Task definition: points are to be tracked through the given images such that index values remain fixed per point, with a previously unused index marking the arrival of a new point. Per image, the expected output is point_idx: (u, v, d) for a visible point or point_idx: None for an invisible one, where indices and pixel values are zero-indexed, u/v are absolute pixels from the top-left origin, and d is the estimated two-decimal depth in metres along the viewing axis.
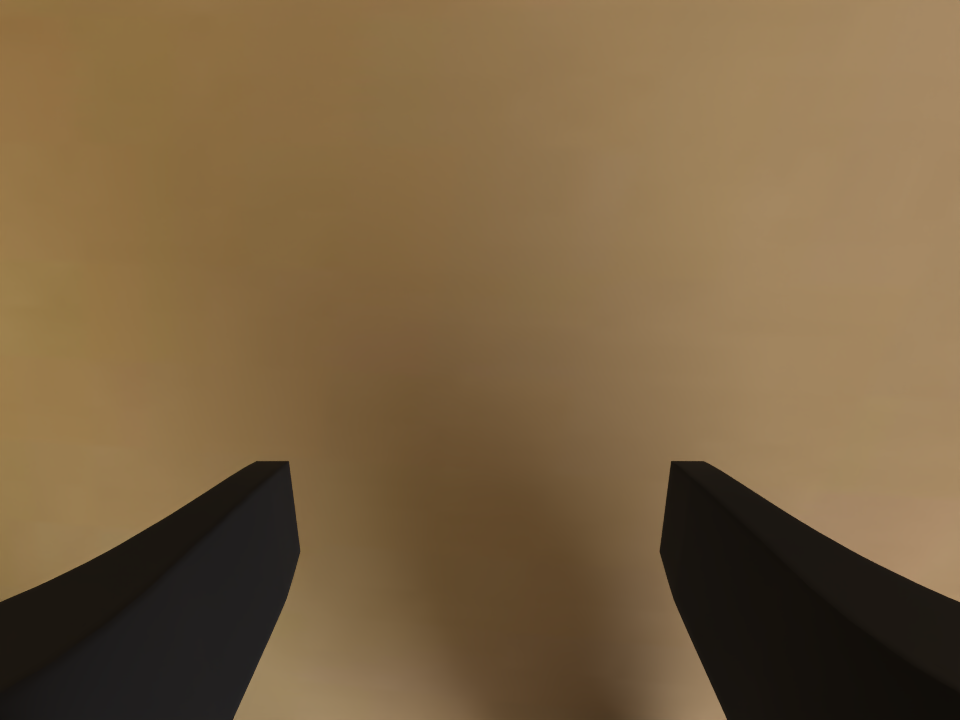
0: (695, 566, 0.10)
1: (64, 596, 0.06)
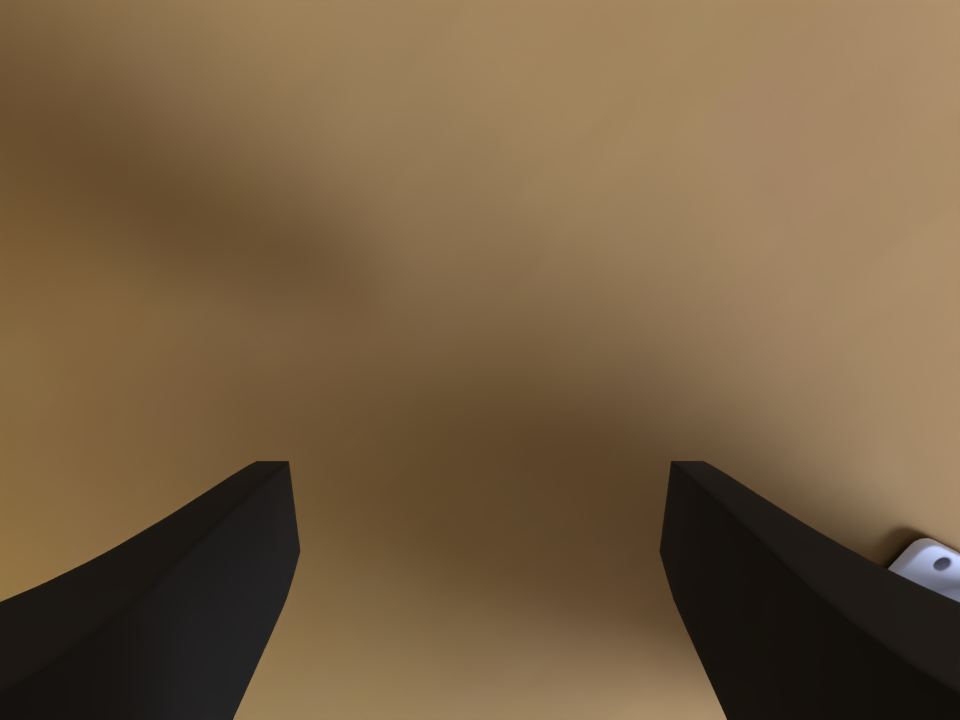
0: (695, 566, 0.10)
1: (65, 595, 0.06)
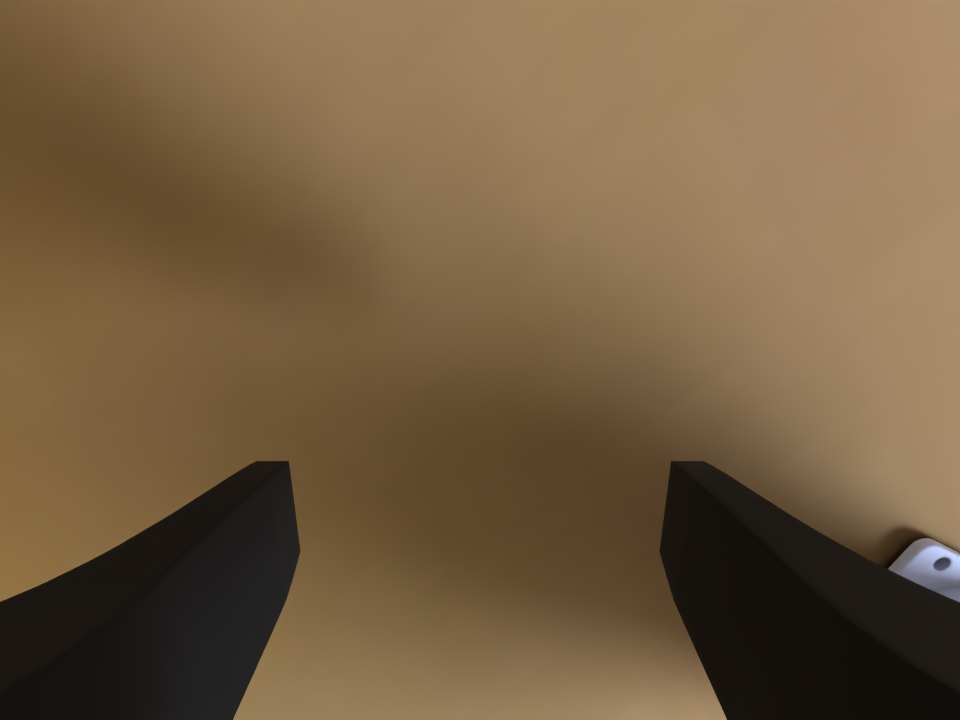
0: (695, 566, 0.10)
1: (65, 595, 0.06)
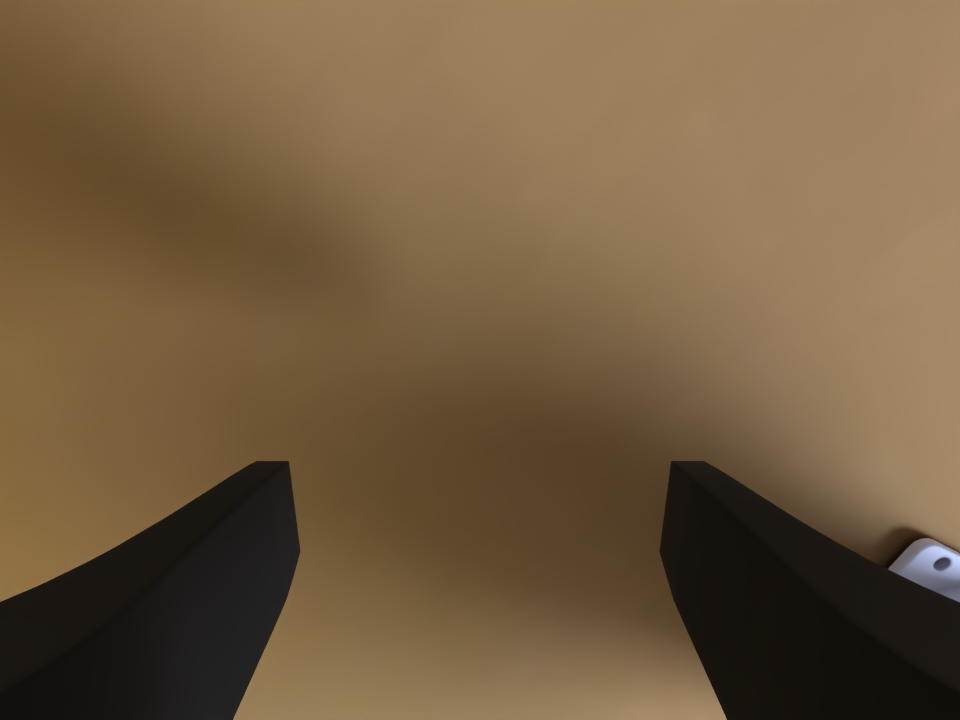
0: (695, 566, 0.10)
1: (65, 595, 0.06)
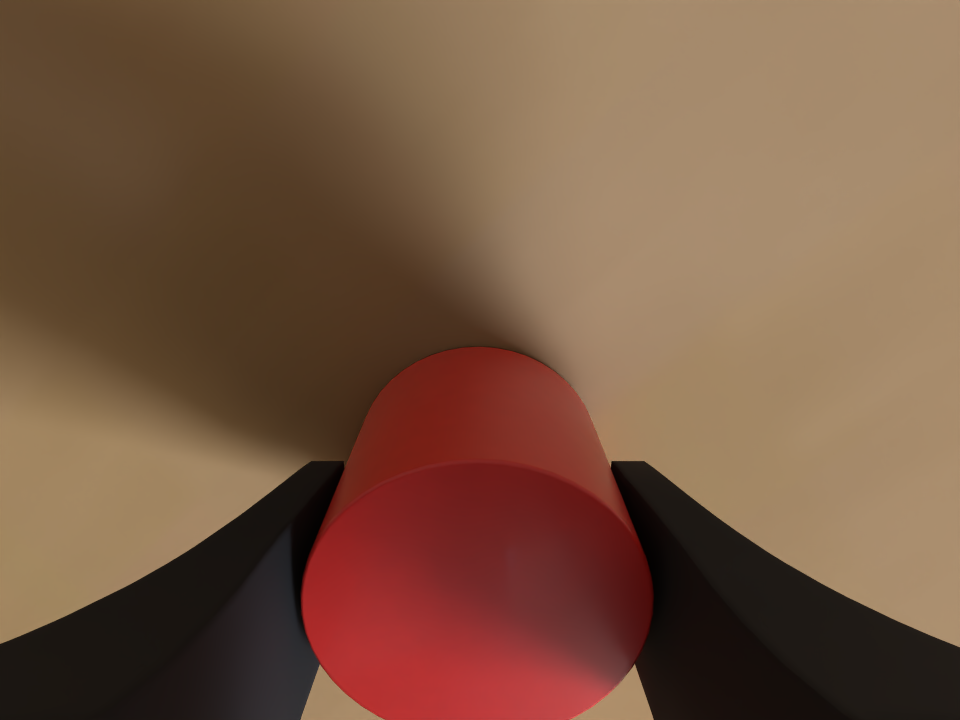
0: None
1: (156, 595, 0.06)
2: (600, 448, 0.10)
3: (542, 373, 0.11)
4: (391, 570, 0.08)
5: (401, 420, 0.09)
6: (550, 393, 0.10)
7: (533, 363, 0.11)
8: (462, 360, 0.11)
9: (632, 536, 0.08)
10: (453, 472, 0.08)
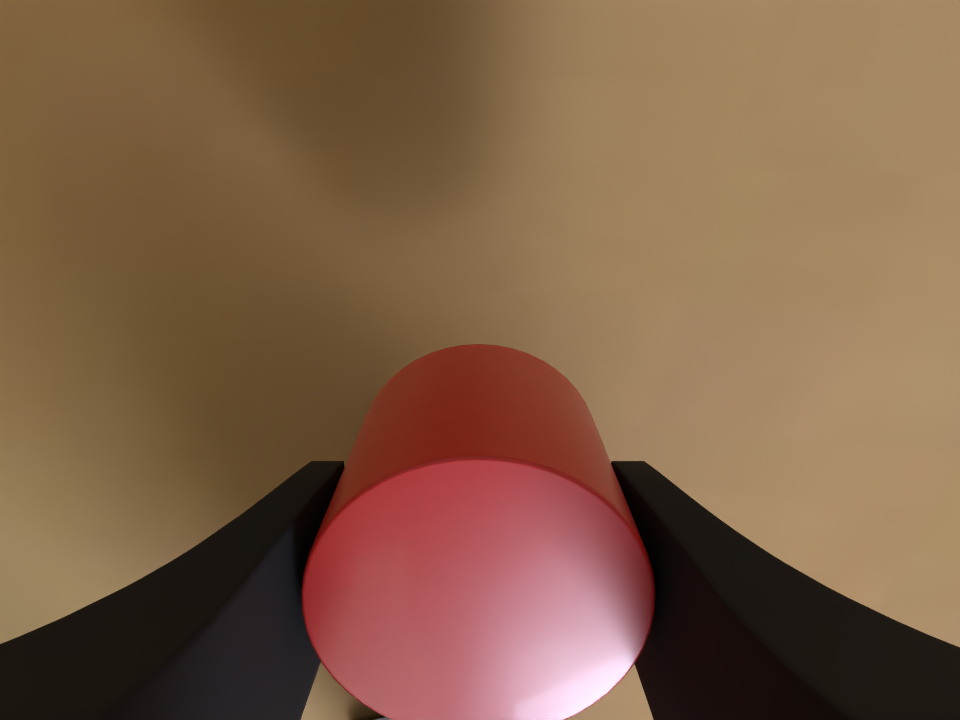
0: None
1: (156, 596, 0.06)
2: (601, 445, 0.10)
3: (543, 370, 0.11)
4: (393, 567, 0.08)
5: (401, 417, 0.09)
6: (551, 391, 0.10)
7: (534, 360, 0.11)
8: (463, 357, 0.11)
9: (634, 533, 0.08)
10: (454, 469, 0.08)
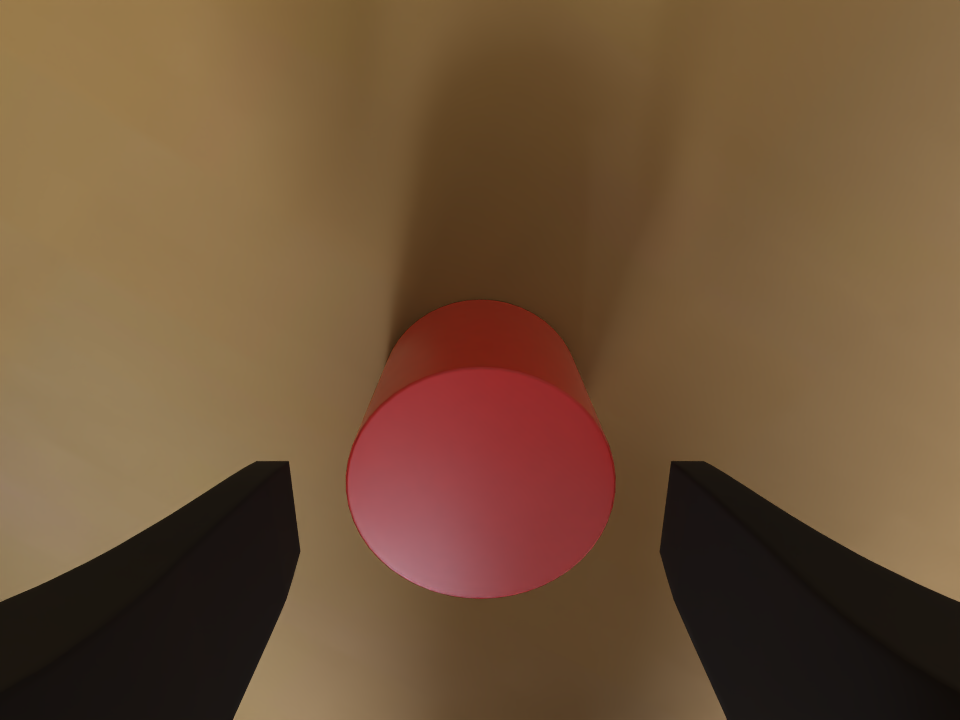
0: (695, 566, 0.10)
1: (65, 594, 0.06)
2: (578, 376, 0.13)
3: (533, 319, 0.14)
4: (416, 456, 0.11)
5: (420, 348, 0.12)
6: (538, 333, 0.13)
7: (525, 312, 0.14)
8: (468, 308, 0.13)
9: (598, 428, 0.10)
10: (463, 376, 0.10)
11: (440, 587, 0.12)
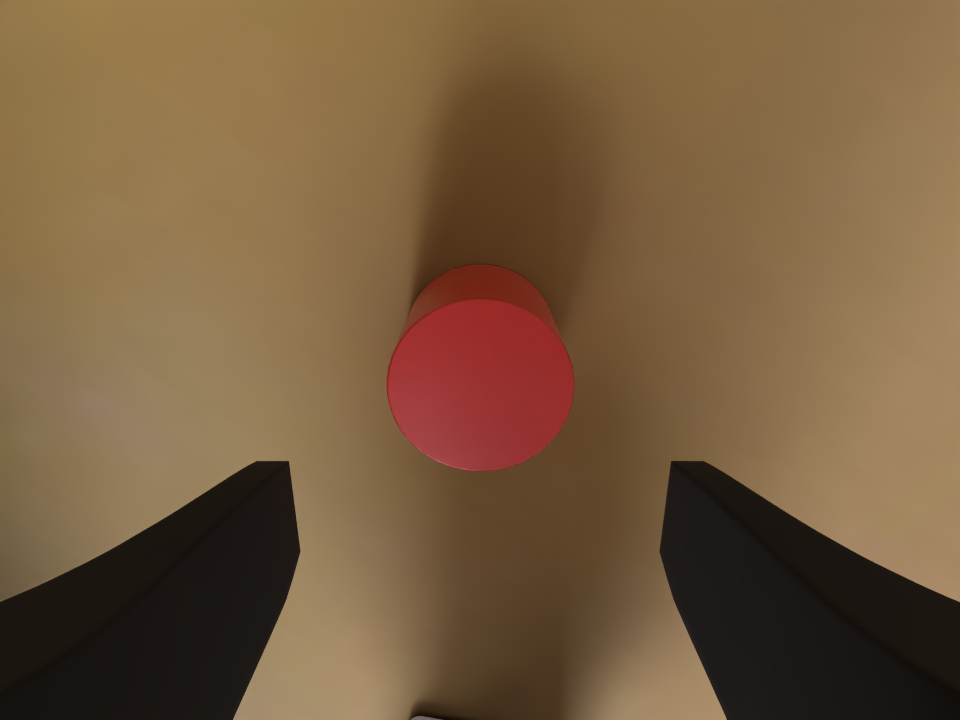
0: (695, 566, 0.10)
1: (64, 596, 0.06)
2: (551, 316, 0.18)
3: (519, 278, 0.19)
4: (435, 362, 0.15)
5: (437, 293, 0.17)
6: (522, 285, 0.18)
7: (514, 273, 0.19)
8: (471, 269, 0.18)
9: (560, 342, 0.15)
10: (468, 305, 0.15)
11: (451, 462, 0.16)
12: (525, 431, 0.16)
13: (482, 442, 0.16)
